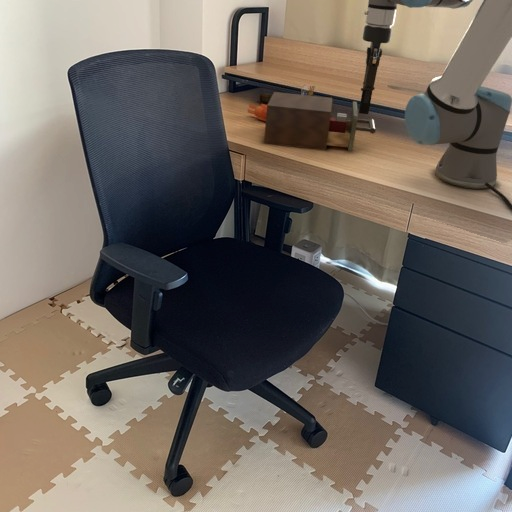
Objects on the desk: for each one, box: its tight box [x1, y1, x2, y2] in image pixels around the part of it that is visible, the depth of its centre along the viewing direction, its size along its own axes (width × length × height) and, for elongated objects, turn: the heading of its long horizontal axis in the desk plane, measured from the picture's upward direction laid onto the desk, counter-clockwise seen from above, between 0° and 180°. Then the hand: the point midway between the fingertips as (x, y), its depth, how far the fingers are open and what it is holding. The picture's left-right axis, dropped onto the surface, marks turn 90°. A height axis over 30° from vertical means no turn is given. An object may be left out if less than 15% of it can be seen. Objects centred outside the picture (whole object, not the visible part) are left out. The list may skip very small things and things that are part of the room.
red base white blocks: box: [329, 112, 348, 133], centre depth 156 cm, size 7×3×6 cm, turn 82°
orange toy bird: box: [247, 103, 268, 122], centre depth 173 cm, size 5×8×12 cm
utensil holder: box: [300, 85, 315, 96], centre depth 174 cm, size 6×6×12 cm
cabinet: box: [263, 91, 333, 151], centre depth 156 cm, size 18×17×11 cm
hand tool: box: [259, 91, 273, 105], centre depth 186 cm, size 19×4×5 cm, turn 37°
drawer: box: [327, 101, 377, 152], centre depth 155 cm, size 24×17×10 cm
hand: (363, 113), depth 153 cm, fingers closed
